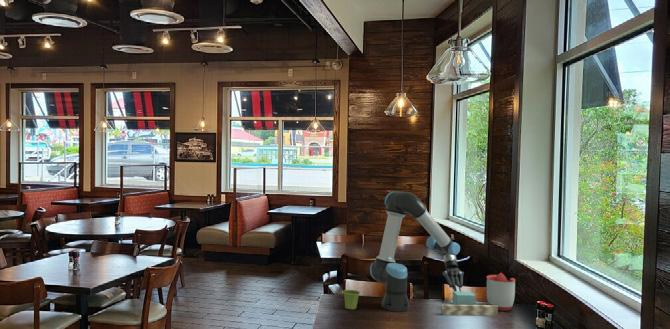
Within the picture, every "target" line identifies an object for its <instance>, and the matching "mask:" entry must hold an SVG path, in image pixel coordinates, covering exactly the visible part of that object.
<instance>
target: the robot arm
mask: <svg viewBox="0 0 670 329" xmlns="http://www.w3.org/2000/svg"><path fill="white" fill-rule="evenodd" d="M384 205H385V207H386V210H385V213H386V214H387V218H386V222H385V227H384V232H383V236H382V241H381V245H380V249H379V250H380V251H379V255H377V256H376V258H375V260H374V261H373V262H372V263H370V266H369V273H370V276H371V277H372V279H373V280H374V281H376V282H378V283H381V284H383V285H385V292H384V296H383V299H382V301H381V308H383V310H386V311H390V312H400V313H401V312H406V311H409V310H410V302H409V299H408V295H407V290H408V289H407V288H408V268H407V267H406V266H405V265H404V264H401V263H398V262H396V260H395V254H396V250H397V245H398V239H399V236H400V231H401V230H400V229H401V225H402V220H403V219H404V218H405V217H406V214H408V215H410V217H411V218H413V219H416V220H417V222H419V223H420V225H421V226H422V227H423V228H424V229H425V230H426V231H427V233H428V234H429V235H430V236H429V237H428V238H427V239H426V242H425V243H426V247H427V248H428V249H430V250H433V251H436V252H437V253H440V254H442V257H443V262H444V266H445V270H444V271H442V276H443V277H444V279H445V280H446V282H447V285H448V286H449V288H452V290H453V291H462V289H461V288H462V287H463V285H464V274H465V272H464V271H461V270H460V268H459V264H458V261H457V255H458V254H459V253H460V251H461V246H460V244H459V243H457V242H454V241H453V240H452V239H451V238H450V237H449V235H448V234H447V233H446V231H445V230H444V229H443V228H442V226H440V224H439V223H438V222H437V221H436V220H435V218H433V216H432V215H431V214H430V213H429V212H428V210H427V206H426V205H425V204H424V203H423V202H422V201H421V200H420V199H419V197H417V196H416V195H415V194H413V193H412V192H409V191H399V190H394V191H393V190H391V191H390V192H389V193H387V195H386V196H385V198H384ZM458 275H459V276H458Z"/></svg>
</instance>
